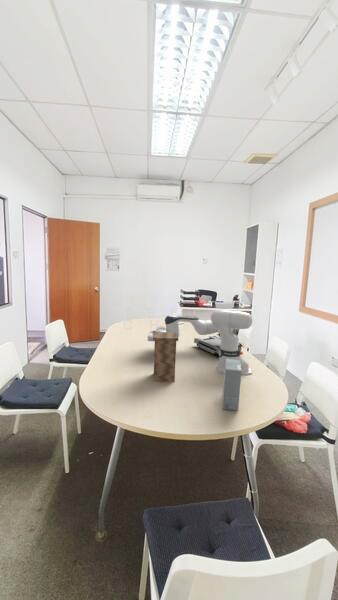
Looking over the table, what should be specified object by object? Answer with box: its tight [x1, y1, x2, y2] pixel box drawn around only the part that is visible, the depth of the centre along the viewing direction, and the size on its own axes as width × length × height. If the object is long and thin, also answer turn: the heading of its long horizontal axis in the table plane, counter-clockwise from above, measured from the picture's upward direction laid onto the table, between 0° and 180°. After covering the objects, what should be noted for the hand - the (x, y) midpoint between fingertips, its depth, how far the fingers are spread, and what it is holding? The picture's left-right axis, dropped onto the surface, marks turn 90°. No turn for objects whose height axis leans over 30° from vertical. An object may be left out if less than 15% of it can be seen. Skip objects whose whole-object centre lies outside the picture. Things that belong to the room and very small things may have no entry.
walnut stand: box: [152, 332, 179, 383], centre depth 164 cm, size 14×13×26 cm
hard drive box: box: [221, 359, 242, 412], centre depth 139 cm, size 16×8×20 cm, turn 168°
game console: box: [193, 335, 243, 359], centre depth 220 cm, size 21×32×8 cm, turn 31°
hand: (162, 341), depth 191 cm, fingers closed on link bar, 4 cm apart
